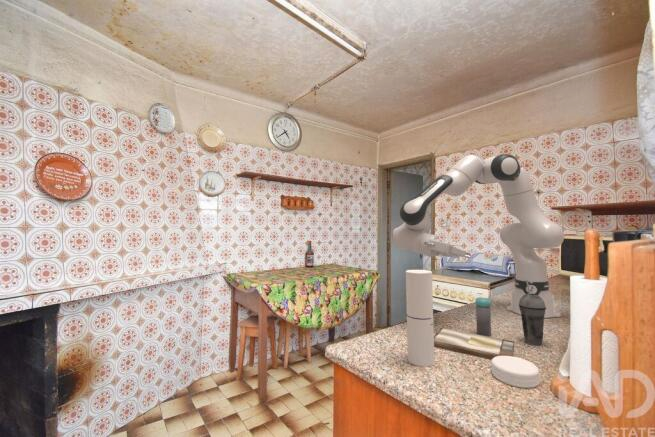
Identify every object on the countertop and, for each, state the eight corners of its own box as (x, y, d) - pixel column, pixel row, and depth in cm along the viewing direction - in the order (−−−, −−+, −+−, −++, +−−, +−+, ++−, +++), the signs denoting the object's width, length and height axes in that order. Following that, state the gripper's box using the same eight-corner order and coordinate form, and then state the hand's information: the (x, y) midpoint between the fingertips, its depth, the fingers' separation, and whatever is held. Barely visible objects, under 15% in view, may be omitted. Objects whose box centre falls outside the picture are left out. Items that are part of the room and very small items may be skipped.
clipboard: (441, 331, 102) (440, 325, 102) (514, 345, 90) (513, 338, 90) (429, 345, 90) (428, 338, 90) (511, 363, 77) (511, 355, 78)
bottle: (477, 330, 103) (476, 297, 103) (492, 333, 100) (491, 298, 100) (475, 334, 99) (474, 299, 99) (490, 337, 96) (489, 301, 97)
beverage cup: (552, 348, 87) (550, 282, 88) (526, 346, 89) (523, 281, 89) (540, 338, 94) (537, 278, 95) (515, 337, 96) (513, 277, 96)
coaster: (524, 393, 64) (524, 377, 64) (483, 374, 73) (482, 360, 73) (548, 382, 69) (547, 367, 69) (506, 364, 77) (505, 351, 78)
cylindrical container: (402, 357, 82) (400, 270, 83) (422, 353, 85) (419, 269, 86) (419, 368, 76) (417, 274, 76) (440, 363, 78) (437, 272, 79)
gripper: (424, 233, 105) (464, 242, 96) (439, 241, 121) (475, 249, 112) (420, 250, 104) (459, 261, 96) (435, 255, 120) (470, 265, 112)
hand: (468, 255), depth 104 cm, fingers open, 8 cm apart
